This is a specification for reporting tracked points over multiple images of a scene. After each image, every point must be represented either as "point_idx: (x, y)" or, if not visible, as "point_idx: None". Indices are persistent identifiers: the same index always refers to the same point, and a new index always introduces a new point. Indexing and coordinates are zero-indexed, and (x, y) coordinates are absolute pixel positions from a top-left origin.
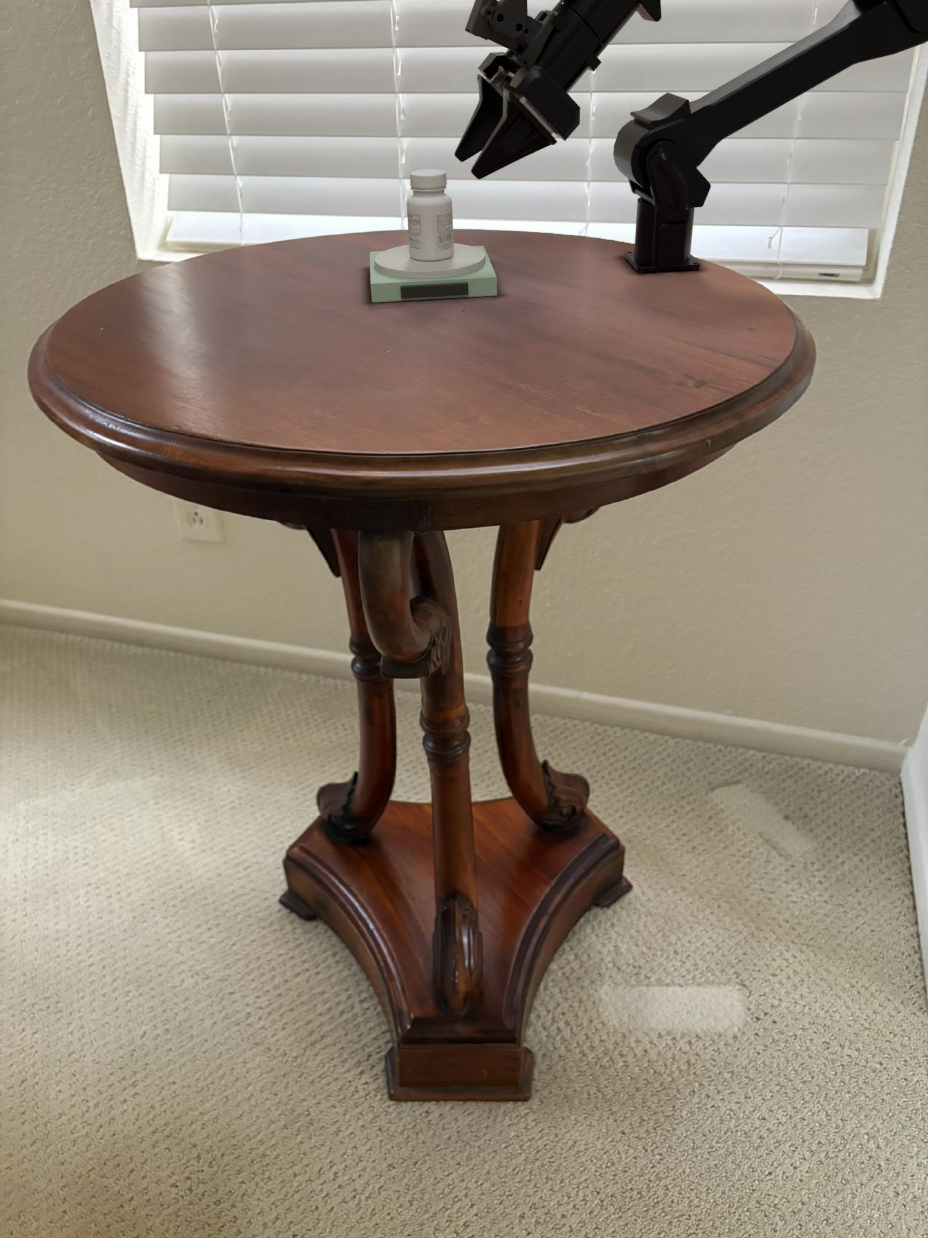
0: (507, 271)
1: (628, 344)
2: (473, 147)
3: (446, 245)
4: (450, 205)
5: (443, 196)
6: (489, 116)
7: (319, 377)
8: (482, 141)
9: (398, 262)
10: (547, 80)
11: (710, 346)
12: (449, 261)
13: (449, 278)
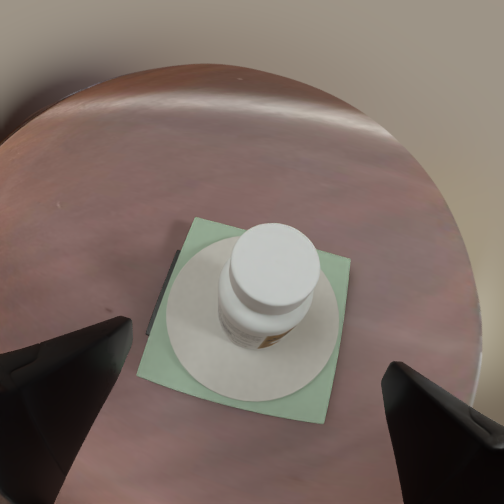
0: (256, 440)
1: None
2: (397, 413)
3: (221, 324)
4: (234, 322)
5: (241, 304)
6: (450, 471)
7: (55, 157)
8: (403, 441)
9: None
10: None
11: None
12: (210, 329)
13: (161, 311)
